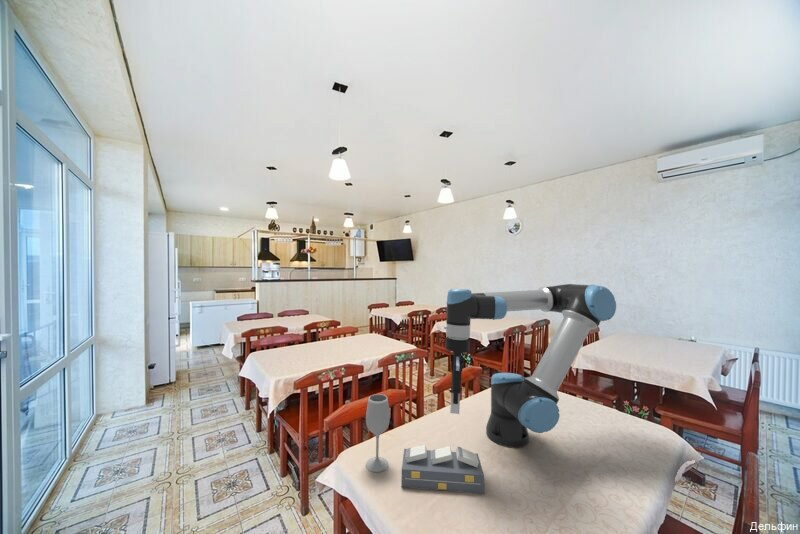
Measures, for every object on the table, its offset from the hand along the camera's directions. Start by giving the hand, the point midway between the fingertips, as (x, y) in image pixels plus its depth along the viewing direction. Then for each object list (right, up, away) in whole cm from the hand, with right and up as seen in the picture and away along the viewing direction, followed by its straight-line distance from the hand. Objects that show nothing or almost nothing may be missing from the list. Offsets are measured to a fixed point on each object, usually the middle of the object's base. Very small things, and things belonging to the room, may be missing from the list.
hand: (454, 412), depth 93 cm
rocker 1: (-12, -10, -5) cm, 17 cm away
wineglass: (-25, -17, 0) cm, 30 cm away
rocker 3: (+3, -10, -6) cm, 12 cm away
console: (-5, -17, -5) cm, 18 cm away
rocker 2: (-5, -10, -5) cm, 12 cm away
